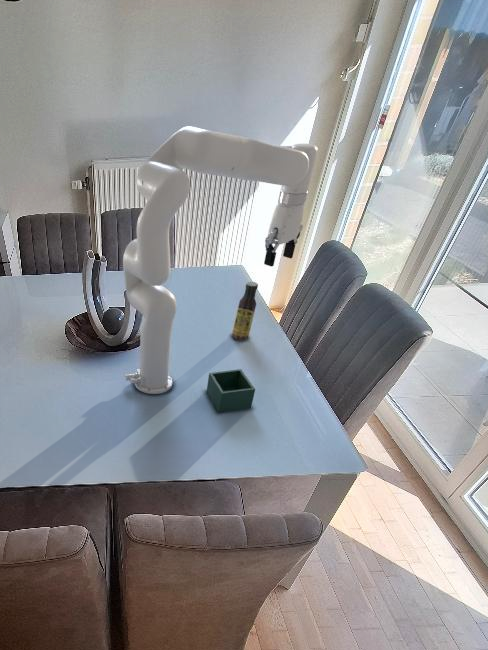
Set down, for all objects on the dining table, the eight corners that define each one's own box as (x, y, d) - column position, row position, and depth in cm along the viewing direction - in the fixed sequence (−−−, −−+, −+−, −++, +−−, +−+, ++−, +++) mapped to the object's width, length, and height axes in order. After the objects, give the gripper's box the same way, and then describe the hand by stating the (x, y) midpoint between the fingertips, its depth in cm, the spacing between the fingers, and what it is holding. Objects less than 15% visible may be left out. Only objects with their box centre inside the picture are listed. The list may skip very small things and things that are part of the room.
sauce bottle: (229, 338, 172) (238, 285, 158) (234, 331, 176) (244, 278, 162) (246, 342, 170) (257, 288, 156) (251, 335, 174) (262, 281, 160)
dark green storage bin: (218, 412, 141) (221, 393, 136) (206, 391, 149) (209, 372, 144) (250, 408, 142) (255, 389, 137) (237, 387, 150) (241, 369, 145)
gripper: (298, 190, 137) (284, 251, 149) (263, 201, 130) (251, 265, 142) (321, 194, 133) (304, 257, 145) (285, 207, 126) (271, 271, 138)
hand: (278, 261), depth 144 cm, fingers open, 9 cm apart
